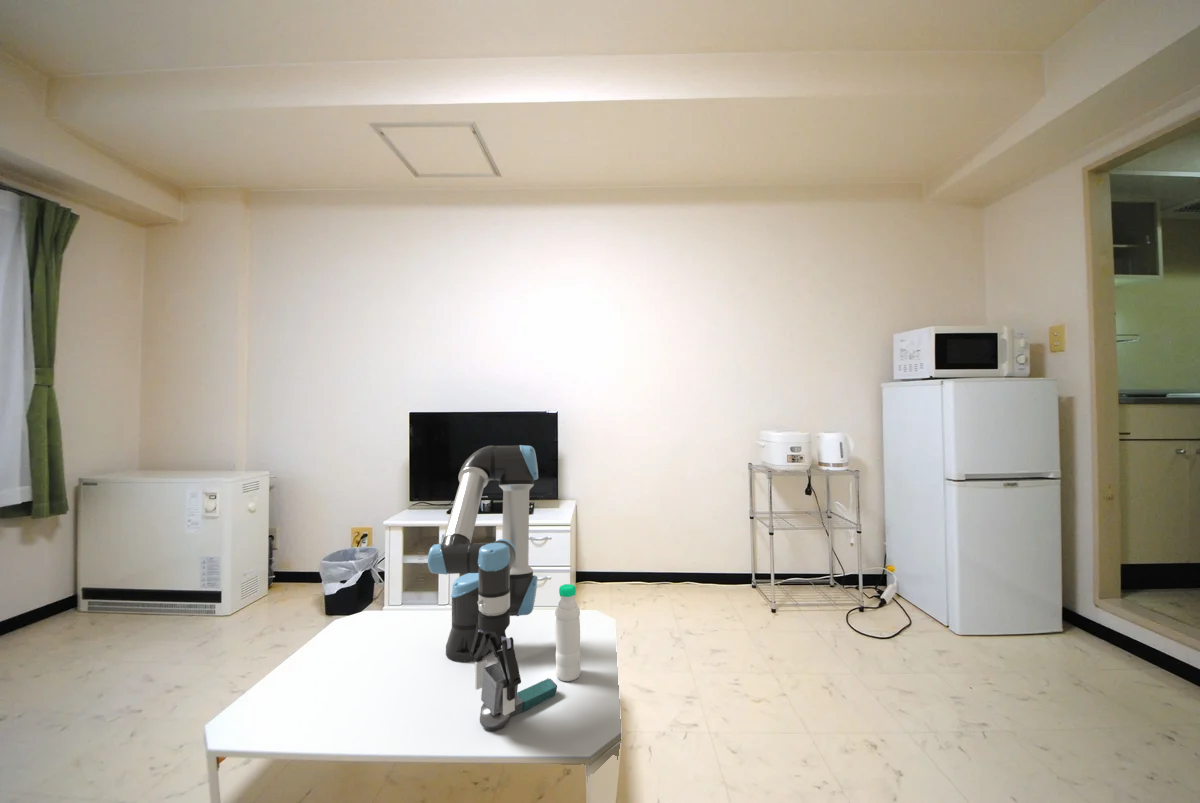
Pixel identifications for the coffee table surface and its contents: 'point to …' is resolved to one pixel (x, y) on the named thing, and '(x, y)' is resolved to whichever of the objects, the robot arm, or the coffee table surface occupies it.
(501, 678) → the grey metal block
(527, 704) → the ratchet
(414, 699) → the coffee table surface
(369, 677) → the coffee table surface
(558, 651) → the water bottle
